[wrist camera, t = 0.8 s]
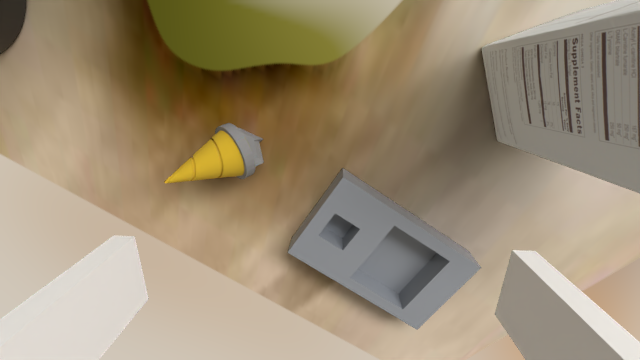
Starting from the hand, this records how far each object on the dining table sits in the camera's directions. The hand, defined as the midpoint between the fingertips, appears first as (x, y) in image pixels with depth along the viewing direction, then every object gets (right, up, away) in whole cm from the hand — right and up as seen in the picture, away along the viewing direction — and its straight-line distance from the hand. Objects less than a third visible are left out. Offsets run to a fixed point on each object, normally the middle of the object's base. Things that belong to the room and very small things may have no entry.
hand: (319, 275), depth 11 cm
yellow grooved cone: (-9, +6, +20) cm, 23 cm away
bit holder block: (+7, -4, +23) cm, 24 cm away
